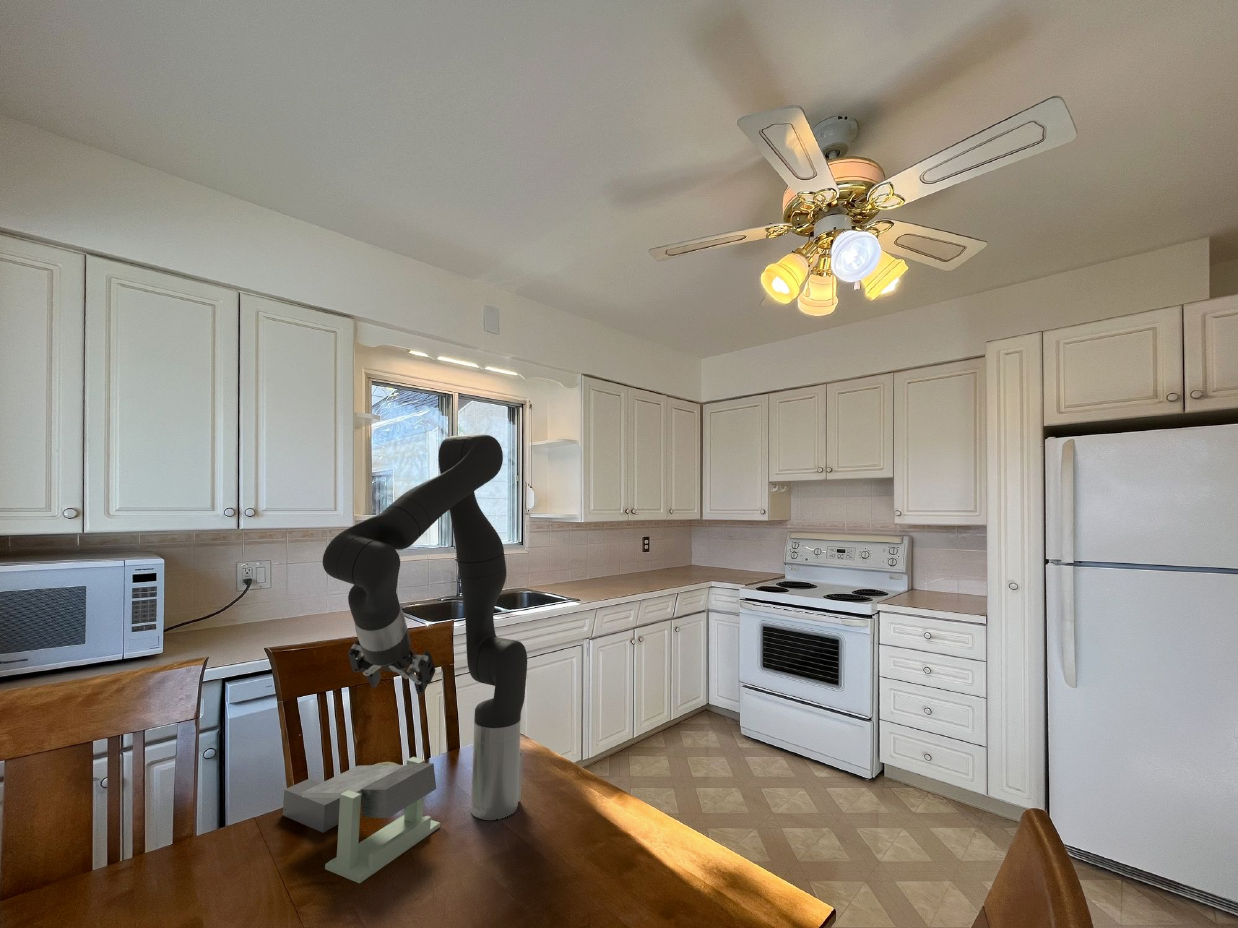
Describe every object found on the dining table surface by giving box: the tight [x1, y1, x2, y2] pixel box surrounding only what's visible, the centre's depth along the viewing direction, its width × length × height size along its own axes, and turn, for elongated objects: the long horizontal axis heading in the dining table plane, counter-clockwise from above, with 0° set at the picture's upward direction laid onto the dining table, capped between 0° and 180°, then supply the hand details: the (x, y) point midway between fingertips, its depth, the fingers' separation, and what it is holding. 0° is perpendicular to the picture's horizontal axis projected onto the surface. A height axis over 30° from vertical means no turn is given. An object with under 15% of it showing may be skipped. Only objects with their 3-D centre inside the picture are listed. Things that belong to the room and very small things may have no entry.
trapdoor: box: [302, 762, 437, 819], centre depth 102 cm, size 12×20×4 cm, turn 65°
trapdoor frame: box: [324, 756, 441, 884], centre depth 100 cm, size 18×8×12 cm, turn 155°
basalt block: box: [282, 778, 340, 833], centre depth 109 cm, size 5×5×12 cm
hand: (398, 686), depth 103 cm, fingers open, 8 cm apart
